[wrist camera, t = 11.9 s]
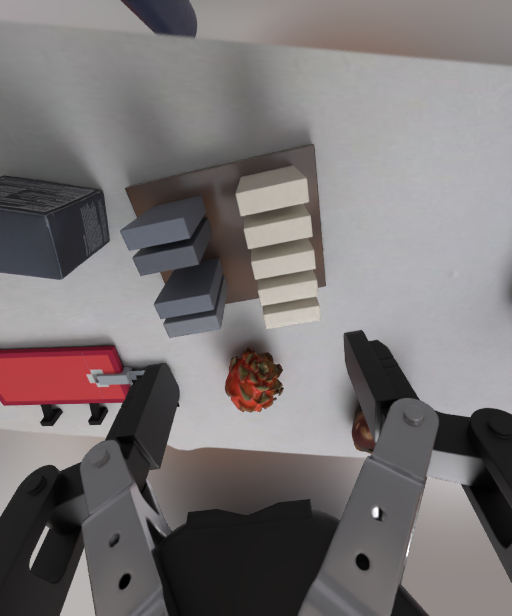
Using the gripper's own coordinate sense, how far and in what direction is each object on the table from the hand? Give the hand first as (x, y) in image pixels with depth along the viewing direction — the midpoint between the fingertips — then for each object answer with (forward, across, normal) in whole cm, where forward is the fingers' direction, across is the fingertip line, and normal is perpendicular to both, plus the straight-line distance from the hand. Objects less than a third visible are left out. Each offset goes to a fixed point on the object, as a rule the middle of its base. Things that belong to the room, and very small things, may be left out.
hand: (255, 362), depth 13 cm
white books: (+23, -2, +2) cm, 23 cm away
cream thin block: (+23, -2, +2) cm, 23 cm away
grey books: (+23, +8, +2) cm, 24 cm away
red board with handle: (+24, +33, +20) cm, 46 cm away
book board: (+24, +3, +2) cm, 24 cm away
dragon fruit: (+24, +5, +23) cm, 34 cm away
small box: (+24, +22, -5) cm, 33 cm away
